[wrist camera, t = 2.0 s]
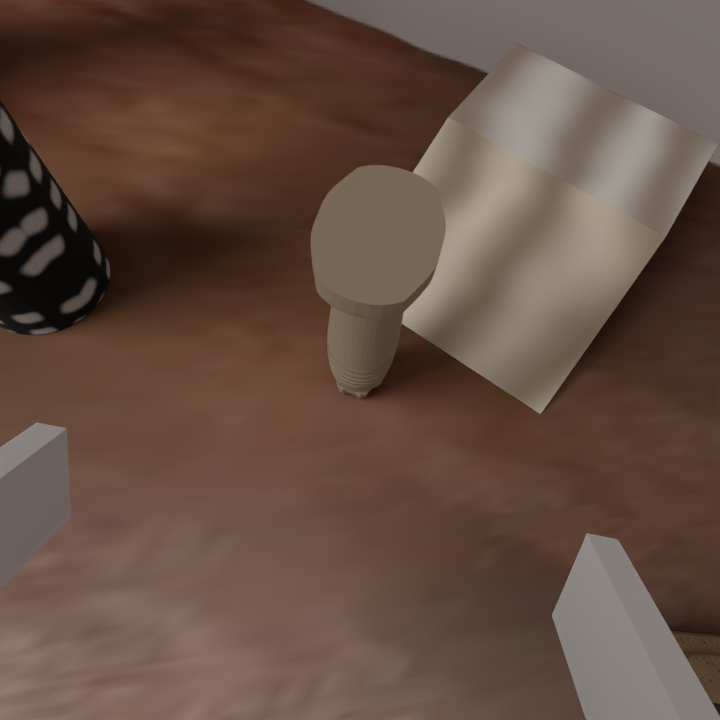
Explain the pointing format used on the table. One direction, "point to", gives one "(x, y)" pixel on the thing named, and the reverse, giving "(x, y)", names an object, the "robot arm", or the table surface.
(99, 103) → the table surface
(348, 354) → the handle
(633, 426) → the table surface
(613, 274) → the ramp bench
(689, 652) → the candle holder
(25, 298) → the white-spotted black cylinder
